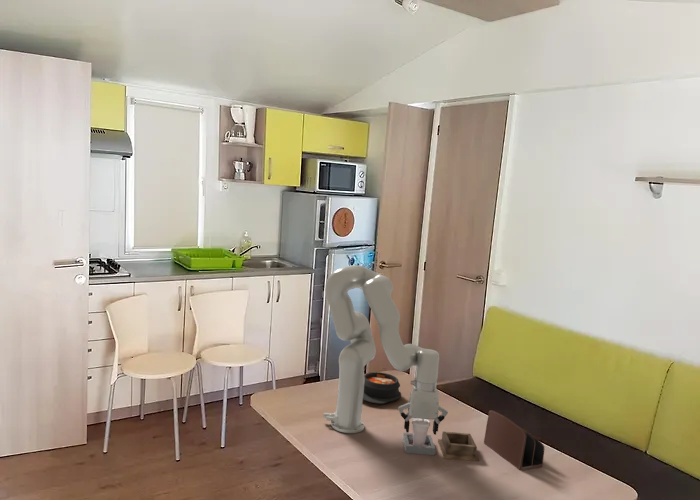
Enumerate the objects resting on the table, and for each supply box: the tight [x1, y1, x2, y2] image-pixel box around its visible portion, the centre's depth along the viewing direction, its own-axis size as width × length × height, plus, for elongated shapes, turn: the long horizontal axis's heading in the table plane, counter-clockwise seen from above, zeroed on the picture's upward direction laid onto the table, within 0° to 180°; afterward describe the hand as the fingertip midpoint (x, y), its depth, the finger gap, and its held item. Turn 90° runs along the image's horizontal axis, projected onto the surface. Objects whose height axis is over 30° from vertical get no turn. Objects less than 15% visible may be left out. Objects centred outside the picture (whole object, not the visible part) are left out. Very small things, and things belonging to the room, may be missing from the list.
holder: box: [402, 432, 436, 456], centre depth 190 cm, size 10×10×2 cm
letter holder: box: [483, 409, 545, 471], centre depth 190 cm, size 10×20×14 cm, turn 23°
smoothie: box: [411, 418, 431, 446], centre depth 189 cm, size 6×6×14 cm
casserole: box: [363, 371, 402, 405], centre depth 233 cm, size 25×19×8 cm
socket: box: [437, 431, 480, 462], centre depth 190 cm, size 12×12×4 cm
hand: (420, 431), depth 189 cm, fingers open, 9 cm apart
